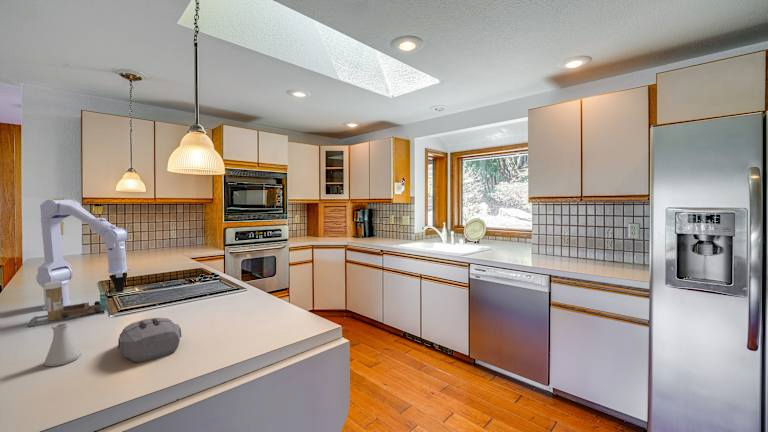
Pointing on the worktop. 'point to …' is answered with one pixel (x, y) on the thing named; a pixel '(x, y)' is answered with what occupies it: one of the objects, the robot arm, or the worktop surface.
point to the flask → (61, 347)
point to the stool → (84, 308)
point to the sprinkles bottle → (54, 299)
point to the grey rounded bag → (149, 339)
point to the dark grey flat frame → (58, 320)
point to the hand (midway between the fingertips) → (119, 291)
